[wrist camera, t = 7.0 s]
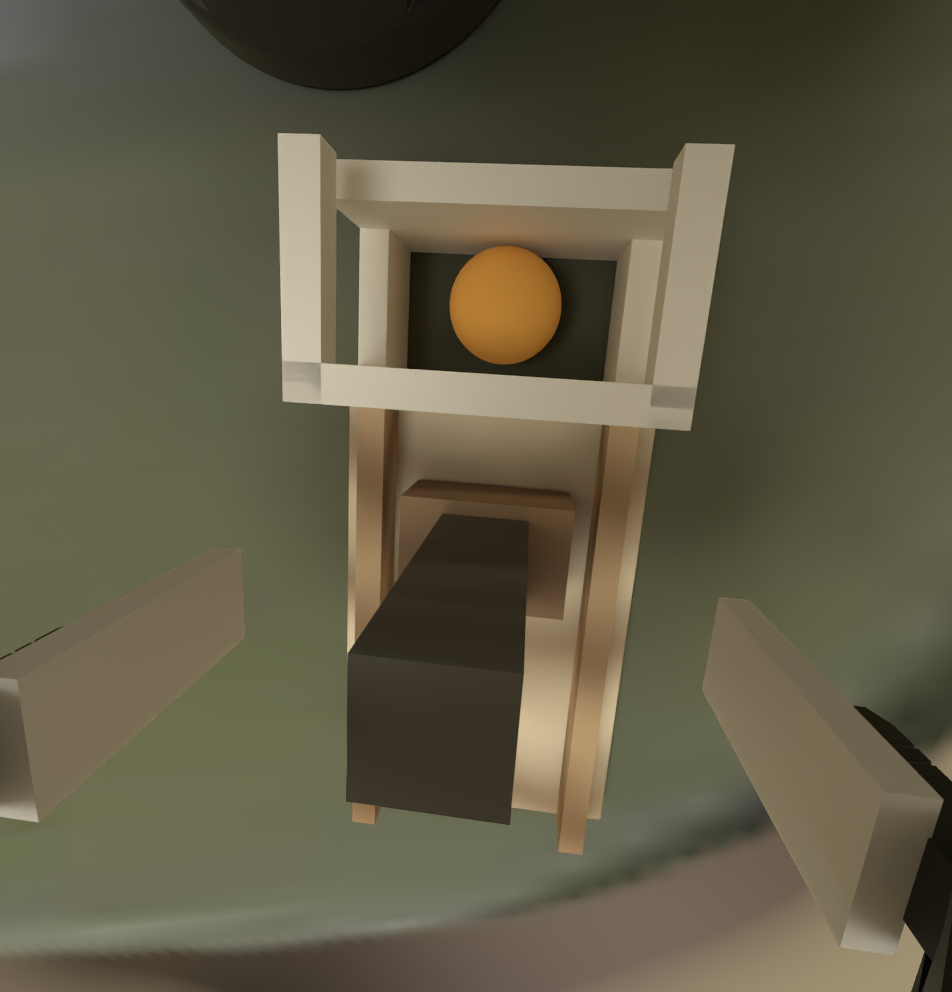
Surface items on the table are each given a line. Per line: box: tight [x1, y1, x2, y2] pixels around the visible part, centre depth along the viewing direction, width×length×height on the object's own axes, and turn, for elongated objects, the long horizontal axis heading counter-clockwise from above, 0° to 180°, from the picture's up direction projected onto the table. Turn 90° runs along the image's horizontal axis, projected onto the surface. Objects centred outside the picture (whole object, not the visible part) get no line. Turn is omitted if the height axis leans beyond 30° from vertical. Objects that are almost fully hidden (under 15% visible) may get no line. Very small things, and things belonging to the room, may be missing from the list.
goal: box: [278, 133, 735, 431], centre depth 16 cm, size 6×10×9 cm, turn 86°
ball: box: [450, 246, 561, 365], centre depth 19 cm, size 4×4×4 cm
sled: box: [346, 479, 575, 825], centre depth 15 cm, size 4×6×12 cm, turn 86°
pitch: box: [346, 406, 655, 855], centre depth 22 cm, size 19×12×3 cm, turn 176°
